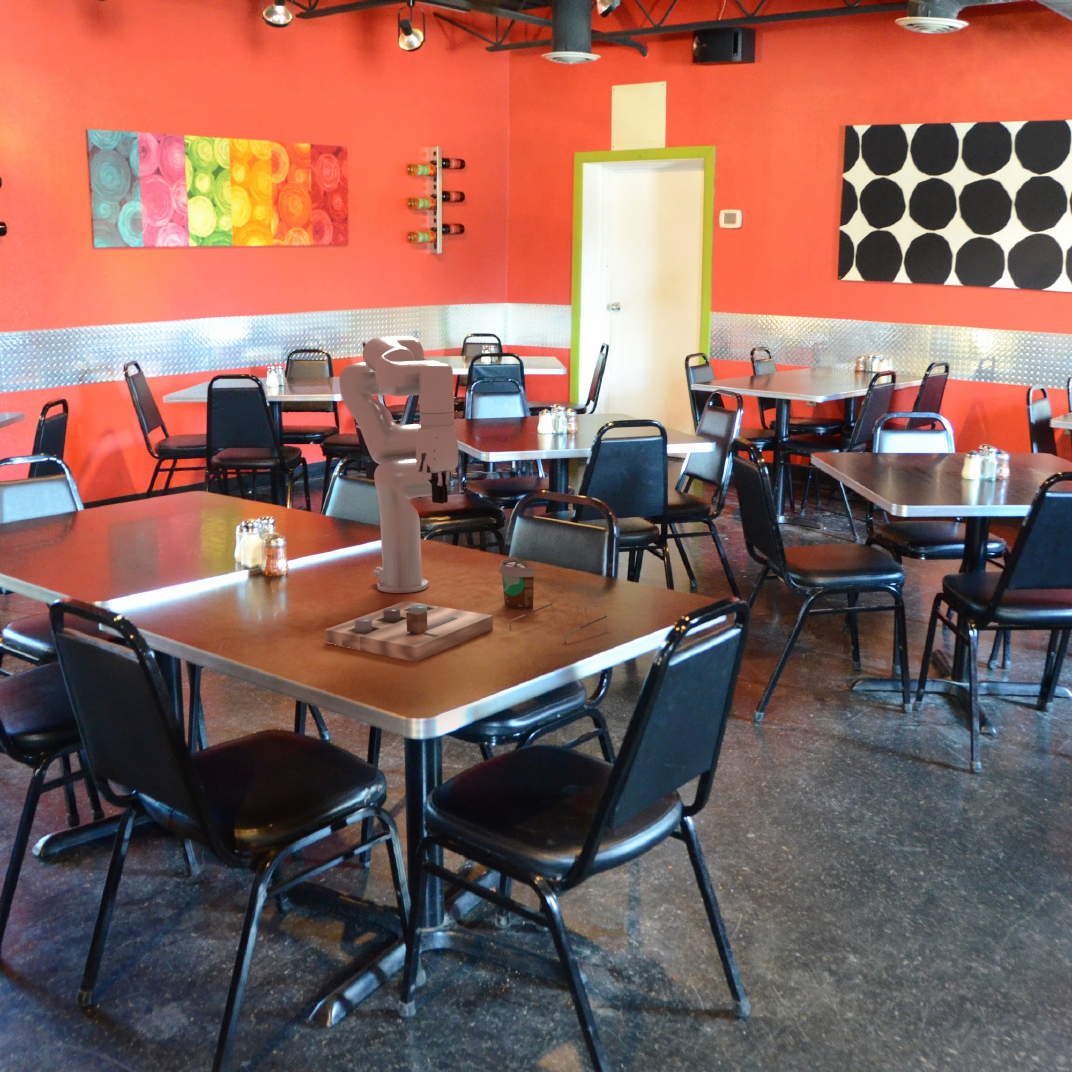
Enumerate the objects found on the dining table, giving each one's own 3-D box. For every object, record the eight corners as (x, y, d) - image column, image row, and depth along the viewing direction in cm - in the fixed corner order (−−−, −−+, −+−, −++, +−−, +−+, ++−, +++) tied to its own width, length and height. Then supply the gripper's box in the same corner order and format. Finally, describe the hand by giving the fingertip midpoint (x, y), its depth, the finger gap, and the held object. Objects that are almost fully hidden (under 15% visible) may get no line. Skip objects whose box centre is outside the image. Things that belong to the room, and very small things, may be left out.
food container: (492, 600, 272) (491, 558, 270) (517, 597, 275) (516, 556, 272) (509, 613, 261) (508, 570, 259) (535, 610, 263) (534, 567, 261)
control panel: (326, 643, 241) (325, 629, 241) (406, 613, 262) (405, 600, 262) (416, 661, 228) (415, 646, 228) (493, 629, 249) (492, 615, 249)
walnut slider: (406, 631, 237) (406, 612, 236) (416, 627, 239) (415, 609, 238) (418, 633, 235) (417, 614, 234) (427, 629, 238) (426, 611, 237)
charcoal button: (380, 624, 247) (379, 610, 246) (391, 620, 250) (390, 606, 249) (393, 626, 245) (392, 613, 245) (404, 622, 248) (403, 609, 247)
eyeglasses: (611, 629, 250) (611, 606, 249) (565, 645, 239) (564, 621, 238) (555, 616, 260) (555, 594, 259) (509, 630, 250) (508, 608, 249)
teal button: (407, 620, 255) (407, 607, 254) (418, 617, 258) (417, 603, 257) (420, 623, 253) (420, 609, 252) (430, 619, 256) (430, 606, 255)
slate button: (351, 635, 240) (350, 621, 239) (363, 630, 243) (362, 617, 242) (364, 637, 238) (364, 623, 237) (376, 633, 241) (375, 619, 240)
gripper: (444, 416, 263) (447, 496, 267) (402, 422, 251) (405, 506, 255) (471, 417, 259) (473, 498, 263) (429, 424, 247) (432, 509, 251)
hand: (440, 502), depth 259 cm, fingers closed
